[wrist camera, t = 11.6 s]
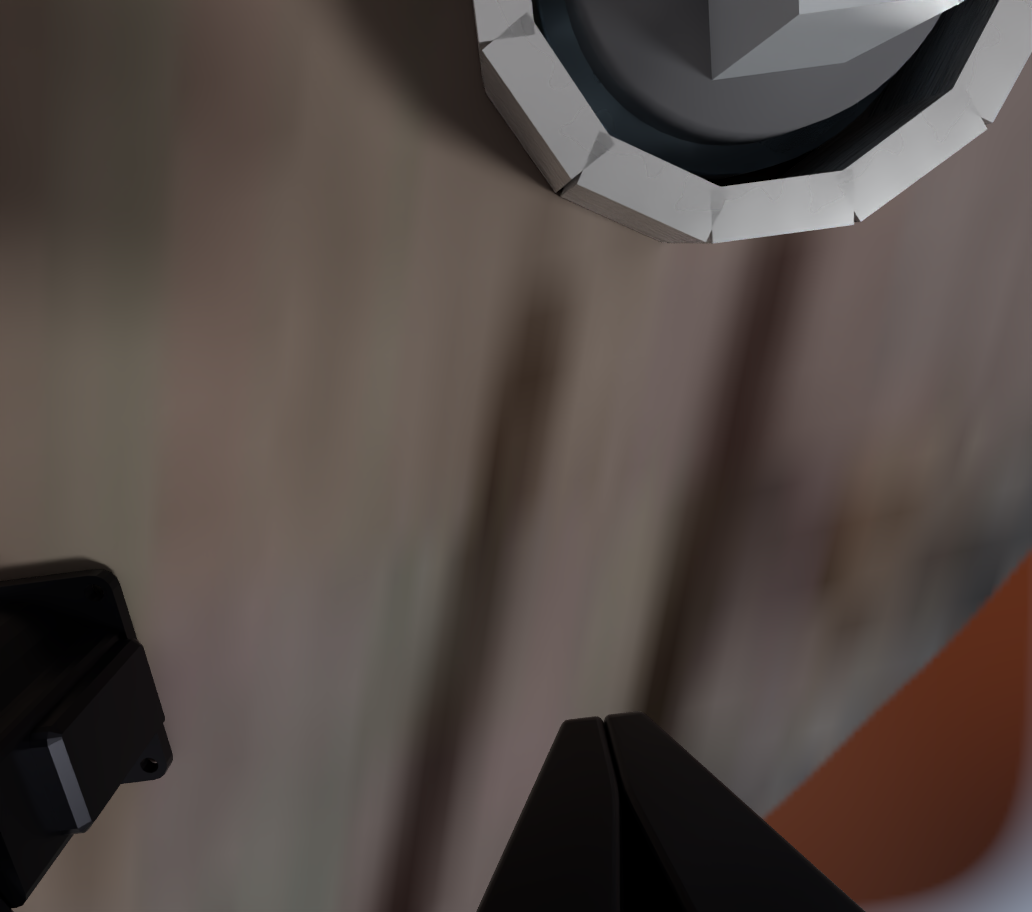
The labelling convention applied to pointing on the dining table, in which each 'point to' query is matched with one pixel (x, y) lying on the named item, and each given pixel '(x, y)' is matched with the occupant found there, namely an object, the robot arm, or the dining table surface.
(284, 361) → the dining table surface
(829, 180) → the faceted white dish
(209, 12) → the dining table surface
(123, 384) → the dining table surface
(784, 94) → the grey knob
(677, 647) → the dining table surface
